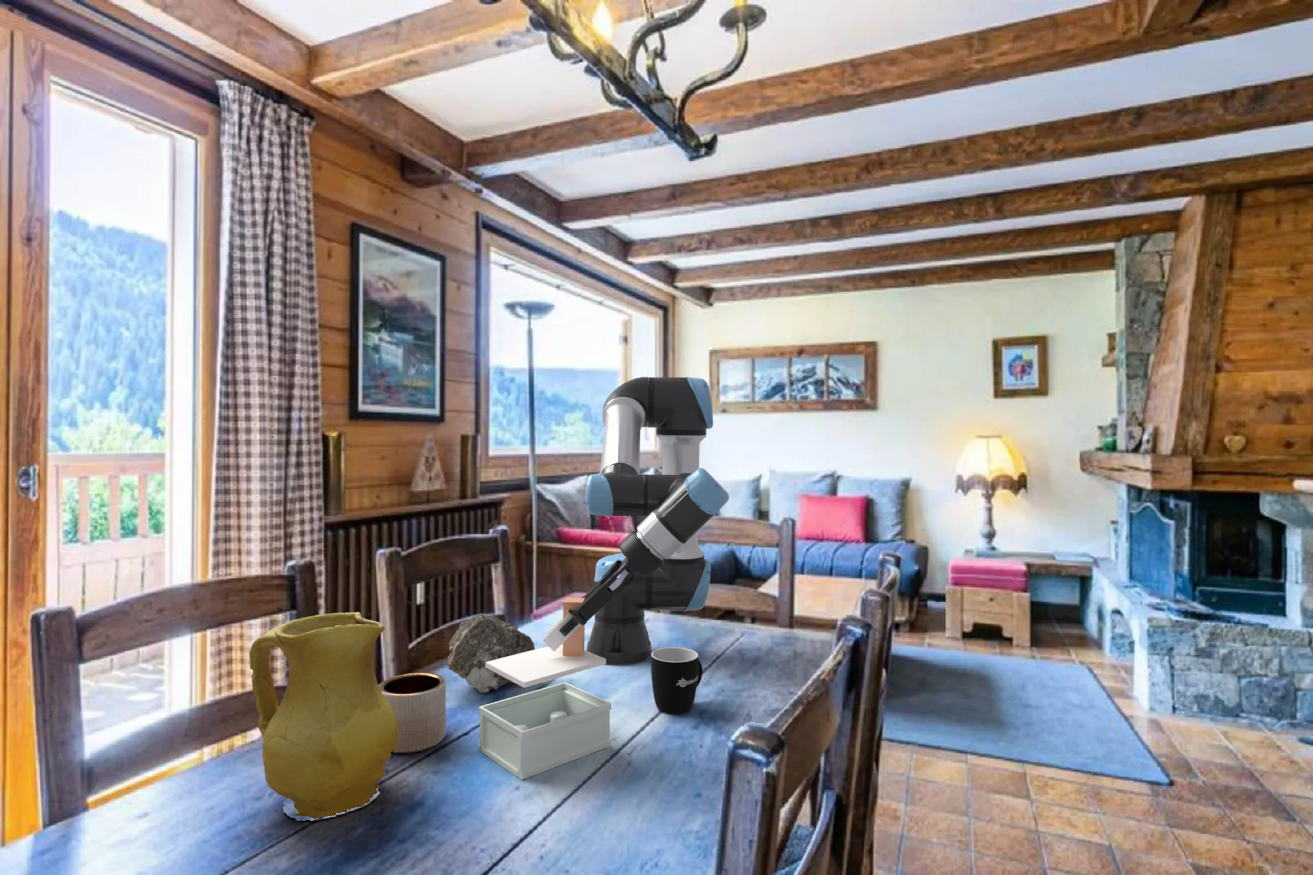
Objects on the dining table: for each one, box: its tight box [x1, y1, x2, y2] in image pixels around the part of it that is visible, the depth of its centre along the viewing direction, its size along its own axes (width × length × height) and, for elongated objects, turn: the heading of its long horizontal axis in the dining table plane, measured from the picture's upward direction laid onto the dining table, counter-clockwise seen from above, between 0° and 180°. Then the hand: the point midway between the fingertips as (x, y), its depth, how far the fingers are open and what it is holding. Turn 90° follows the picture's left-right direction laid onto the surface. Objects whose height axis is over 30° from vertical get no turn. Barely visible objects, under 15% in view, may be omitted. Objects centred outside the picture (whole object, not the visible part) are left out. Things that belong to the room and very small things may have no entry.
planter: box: [378, 672, 447, 754], centre depth 115 cm, size 11×11×10 cm
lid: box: [485, 597, 607, 689], centre depth 112 cm, size 16×12×10 cm
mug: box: [650, 646, 703, 715], centre depth 131 cm, size 12×9×10 cm
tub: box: [477, 681, 612, 781], centre depth 113 cm, size 17×13×7 cm
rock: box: [446, 613, 536, 694], centre depth 142 cm, size 18×14×15 cm
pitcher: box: [248, 611, 398, 819], centre depth 97 cm, size 17×19×25 cm
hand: (551, 641), depth 116 cm, fingers closed on lid, 3 cm apart
